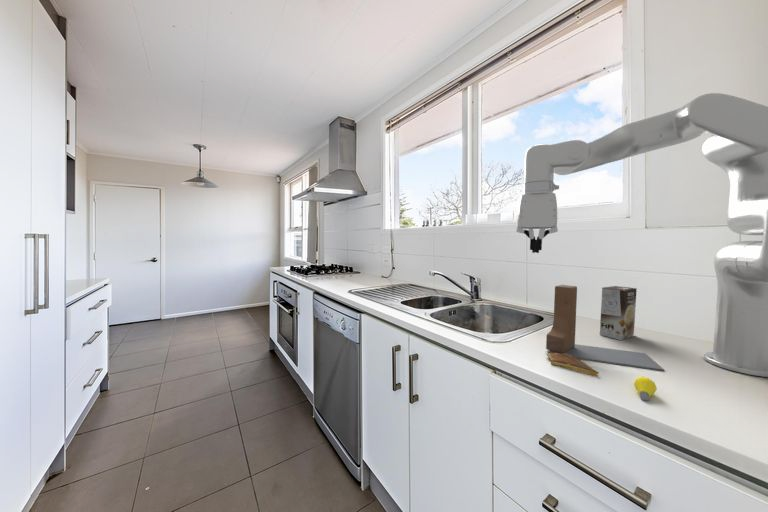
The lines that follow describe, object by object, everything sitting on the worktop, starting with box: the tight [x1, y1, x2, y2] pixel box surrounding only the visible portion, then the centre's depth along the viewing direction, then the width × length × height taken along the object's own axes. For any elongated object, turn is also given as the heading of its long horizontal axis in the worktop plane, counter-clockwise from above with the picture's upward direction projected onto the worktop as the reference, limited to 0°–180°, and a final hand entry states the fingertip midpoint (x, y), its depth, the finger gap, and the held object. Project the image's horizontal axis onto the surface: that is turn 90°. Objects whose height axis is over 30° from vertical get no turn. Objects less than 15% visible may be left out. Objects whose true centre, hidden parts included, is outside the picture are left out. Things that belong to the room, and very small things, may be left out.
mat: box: [548, 343, 665, 372], centre depth 80 cm, size 24×11×1 cm, turn 66°
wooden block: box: [545, 284, 578, 353], centre depth 83 cm, size 9×4×18 cm, turn 128°
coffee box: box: [599, 285, 638, 341], centre depth 95 cm, size 9×6×16 cm
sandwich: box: [545, 352, 600, 377], centre depth 72 cm, size 11×8×2 cm
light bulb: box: [633, 376, 658, 401], centre depth 59 cm, size 3×6×4 cm, turn 137°
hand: (535, 252), depth 84 cm, fingers closed
